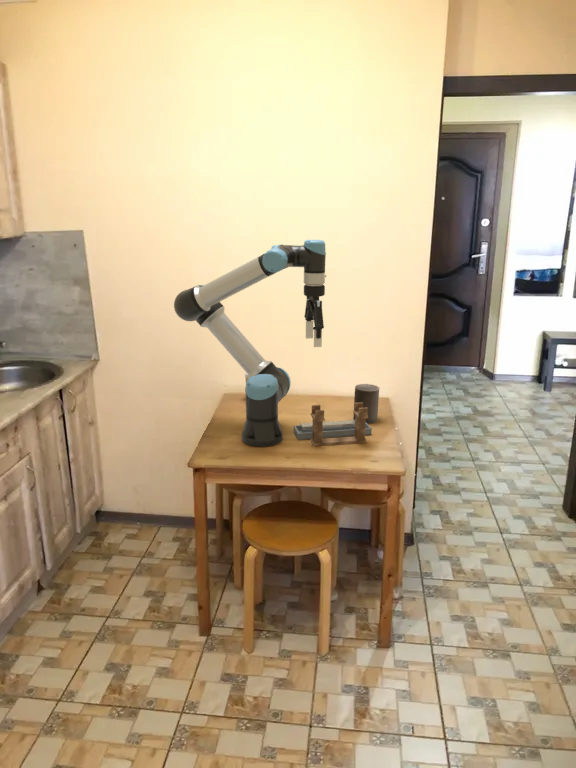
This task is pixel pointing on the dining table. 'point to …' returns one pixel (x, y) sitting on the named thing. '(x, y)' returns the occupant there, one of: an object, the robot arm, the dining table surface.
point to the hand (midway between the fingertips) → (313, 342)
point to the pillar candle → (368, 400)
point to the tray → (329, 433)
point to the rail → (329, 426)
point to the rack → (359, 437)
